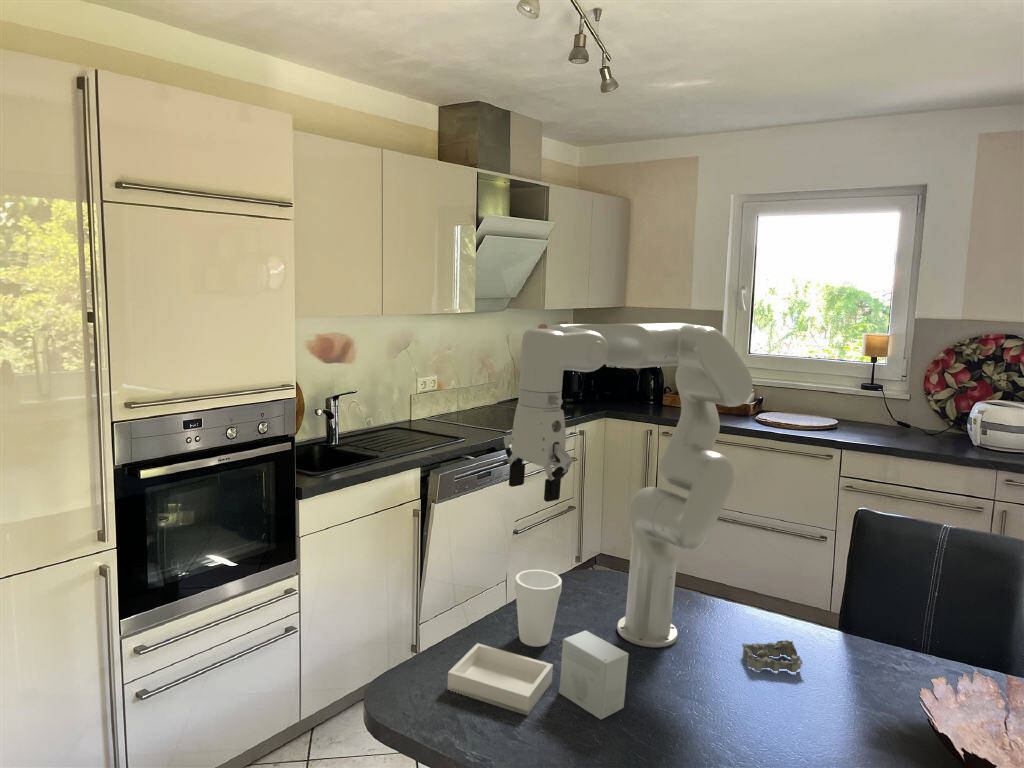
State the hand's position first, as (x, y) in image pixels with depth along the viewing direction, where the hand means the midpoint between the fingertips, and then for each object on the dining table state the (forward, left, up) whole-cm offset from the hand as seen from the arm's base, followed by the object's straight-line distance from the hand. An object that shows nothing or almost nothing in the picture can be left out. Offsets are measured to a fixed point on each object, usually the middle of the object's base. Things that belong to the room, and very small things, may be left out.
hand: (533, 492), depth 133 cm
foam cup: (-13, -3, -36) cm, 38 cm away
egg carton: (-27, +42, -36) cm, 62 cm away
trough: (+6, -2, -35) cm, 36 cm away
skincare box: (+2, +14, -36) cm, 38 cm away
